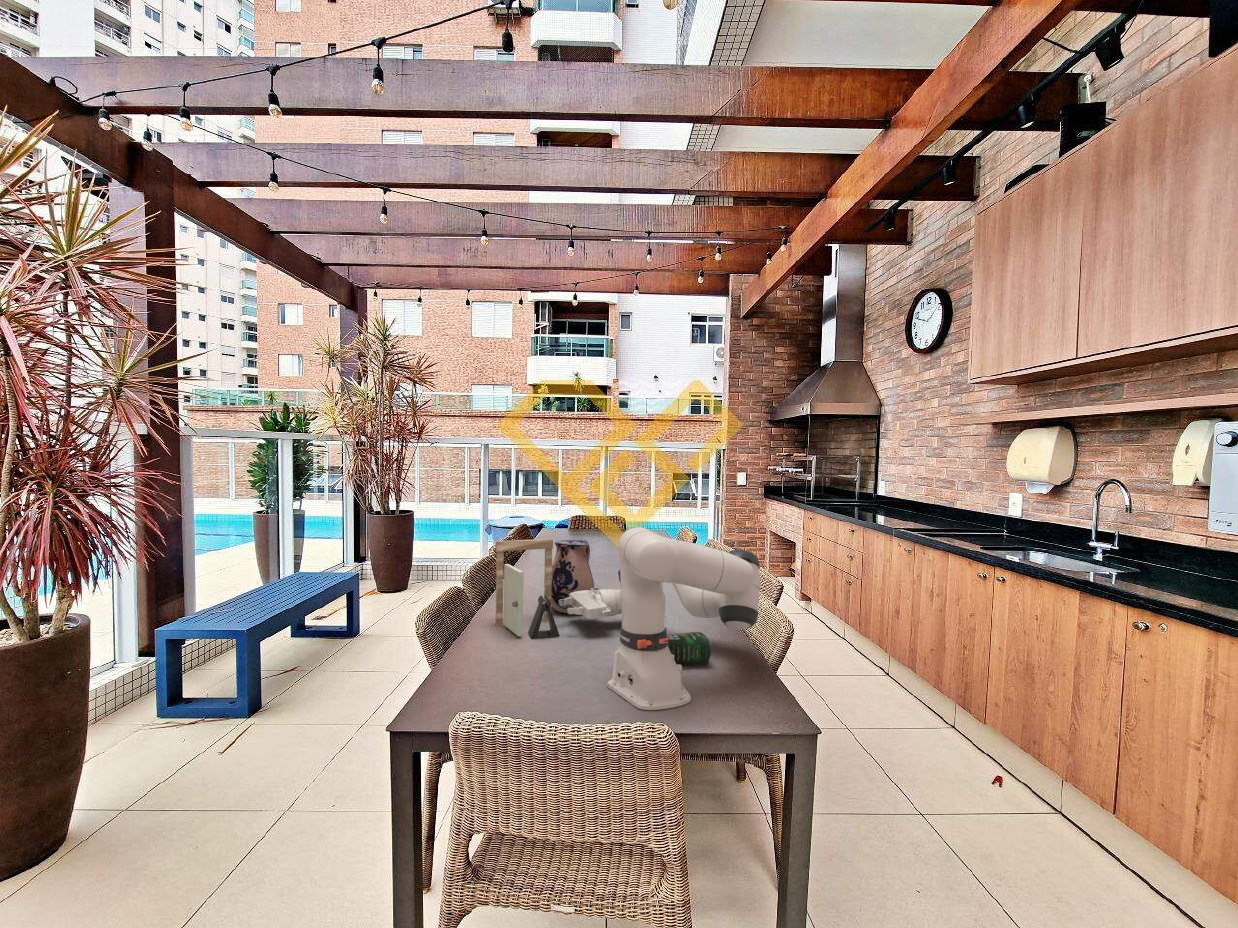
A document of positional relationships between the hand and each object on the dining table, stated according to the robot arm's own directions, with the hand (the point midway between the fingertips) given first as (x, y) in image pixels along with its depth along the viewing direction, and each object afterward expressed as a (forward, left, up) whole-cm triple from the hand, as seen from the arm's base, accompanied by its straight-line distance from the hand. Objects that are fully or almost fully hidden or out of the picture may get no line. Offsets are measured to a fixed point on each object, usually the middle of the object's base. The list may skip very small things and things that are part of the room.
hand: (563, 606), depth 181 cm
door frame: (+13, +10, -8) cm, 18 cm away
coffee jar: (-37, -31, -4) cm, 49 cm away
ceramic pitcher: (+23, -10, -8) cm, 26 cm away
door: (+4, +16, -7) cm, 18 cm away
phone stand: (-2, +7, -8) cm, 11 cm away
